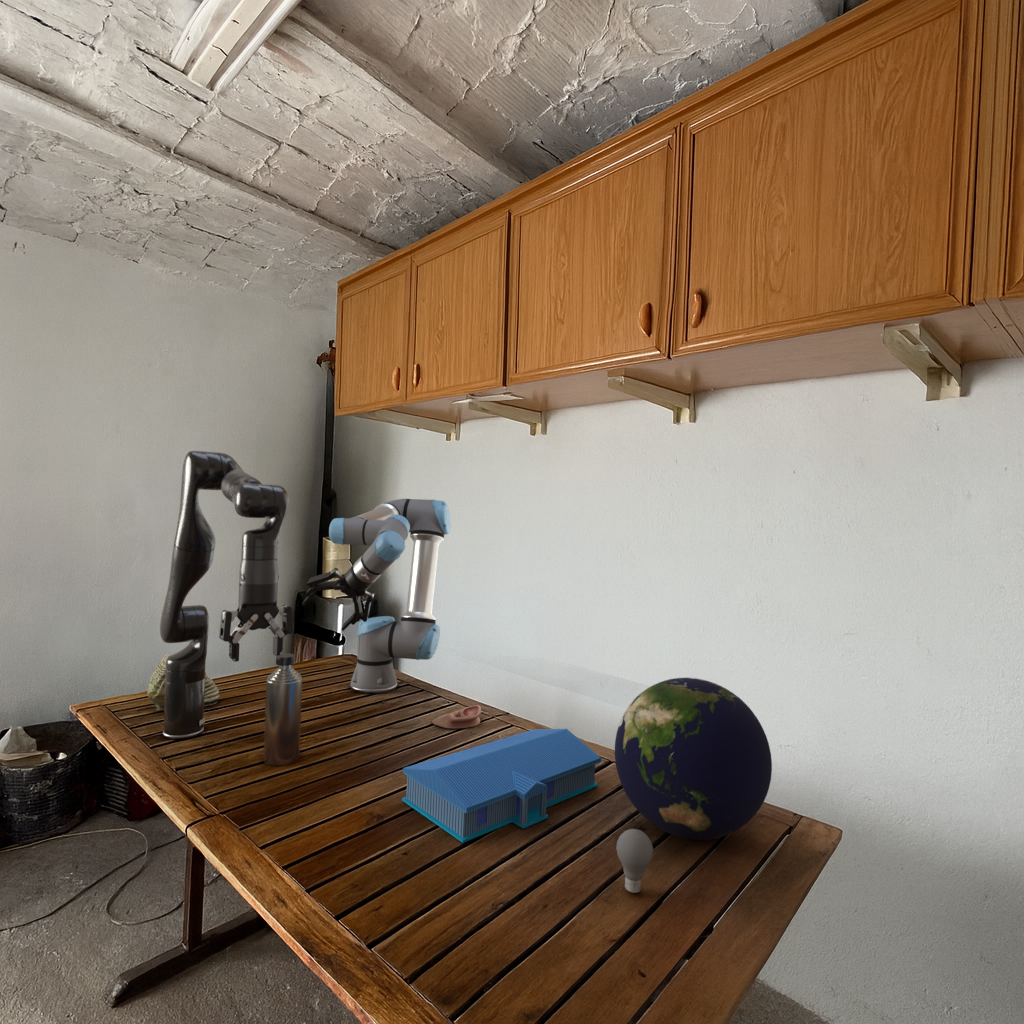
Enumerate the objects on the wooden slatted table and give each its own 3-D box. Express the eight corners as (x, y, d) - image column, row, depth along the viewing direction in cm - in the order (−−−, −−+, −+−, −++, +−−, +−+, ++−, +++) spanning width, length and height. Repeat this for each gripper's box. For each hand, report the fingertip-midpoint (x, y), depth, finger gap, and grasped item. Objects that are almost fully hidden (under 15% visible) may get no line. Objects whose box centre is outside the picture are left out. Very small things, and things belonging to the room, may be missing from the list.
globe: (594, 848, 118) (602, 688, 118) (628, 784, 146) (634, 654, 145) (767, 892, 107) (776, 715, 106) (767, 813, 134) (775, 673, 134)
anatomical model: (428, 712, 177) (441, 699, 188) (427, 726, 177) (440, 713, 188) (474, 717, 174) (484, 704, 186) (473, 731, 174) (484, 718, 186)
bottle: (265, 753, 155) (269, 653, 154) (300, 750, 157) (303, 652, 156) (261, 766, 147) (265, 661, 147) (298, 764, 149) (302, 660, 149)
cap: (276, 661, 153) (277, 653, 153) (294, 661, 154) (294, 653, 154) (275, 666, 149) (275, 657, 149) (293, 665, 150) (293, 657, 150)
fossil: (144, 707, 182) (145, 655, 182) (212, 696, 194) (213, 647, 194) (151, 716, 175) (153, 662, 175) (221, 703, 188) (223, 653, 188)
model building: (473, 850, 116) (475, 796, 115) (400, 799, 134) (402, 752, 134) (609, 791, 142) (611, 746, 142) (533, 755, 160) (535, 716, 160)
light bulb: (610, 879, 108) (613, 822, 108) (644, 879, 109) (647, 822, 109) (619, 902, 102) (622, 840, 102) (655, 901, 103) (658, 840, 103)
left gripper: (284, 576, 139) (281, 649, 139) (216, 579, 129) (213, 658, 130) (299, 580, 134) (296, 656, 134) (230, 584, 124) (227, 667, 124)
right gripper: (321, 556, 170) (282, 600, 179) (397, 606, 177) (356, 646, 186) (330, 540, 176) (292, 583, 185) (402, 589, 183) (362, 628, 193)
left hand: (256, 657), depth 132 cm, fingers open, 8 cm apart
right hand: (324, 615), depth 186 cm, fingers open, 13 cm apart
